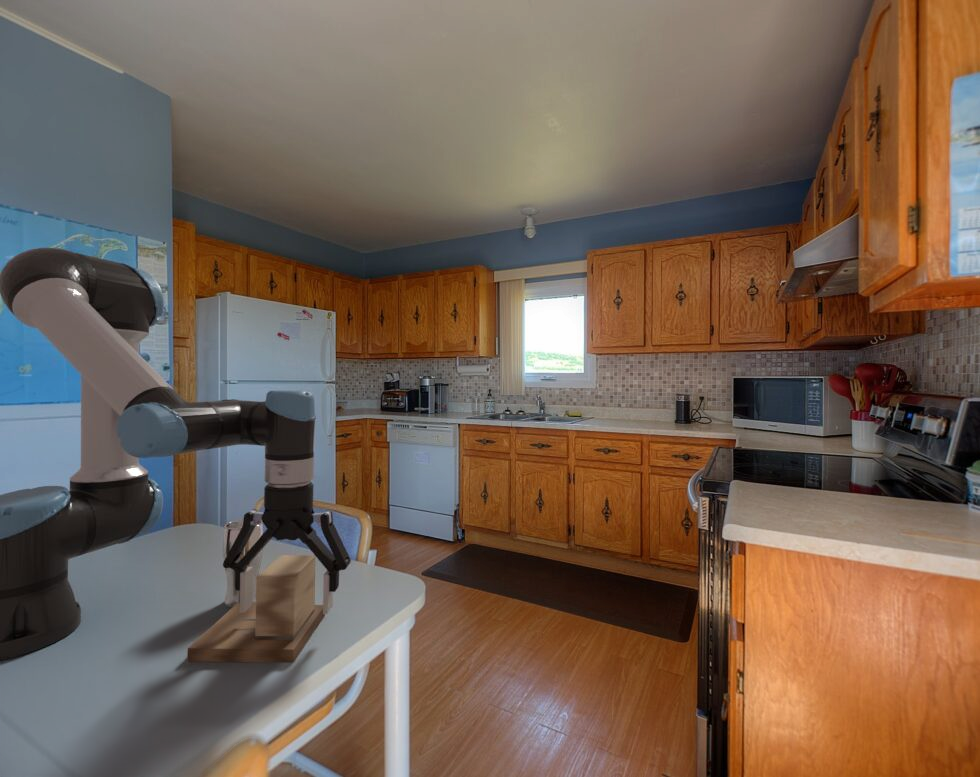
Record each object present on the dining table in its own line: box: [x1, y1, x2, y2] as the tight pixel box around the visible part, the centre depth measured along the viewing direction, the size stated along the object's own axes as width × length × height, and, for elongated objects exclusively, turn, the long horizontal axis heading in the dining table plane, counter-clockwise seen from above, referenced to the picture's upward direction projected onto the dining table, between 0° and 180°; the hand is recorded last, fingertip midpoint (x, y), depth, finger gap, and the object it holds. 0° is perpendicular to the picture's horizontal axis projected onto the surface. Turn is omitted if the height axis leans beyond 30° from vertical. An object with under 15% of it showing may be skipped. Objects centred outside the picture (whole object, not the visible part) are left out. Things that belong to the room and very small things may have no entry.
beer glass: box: [222, 518, 264, 609], centre depth 89 cm, size 7×7×15 cm
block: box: [255, 554, 316, 640], centre depth 77 cm, size 6×9×10 cm, turn 1°
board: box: [186, 603, 326, 664], centre depth 77 cm, size 16×14×2 cm
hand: (287, 609), depth 77 cm, fingers open, 13 cm apart
